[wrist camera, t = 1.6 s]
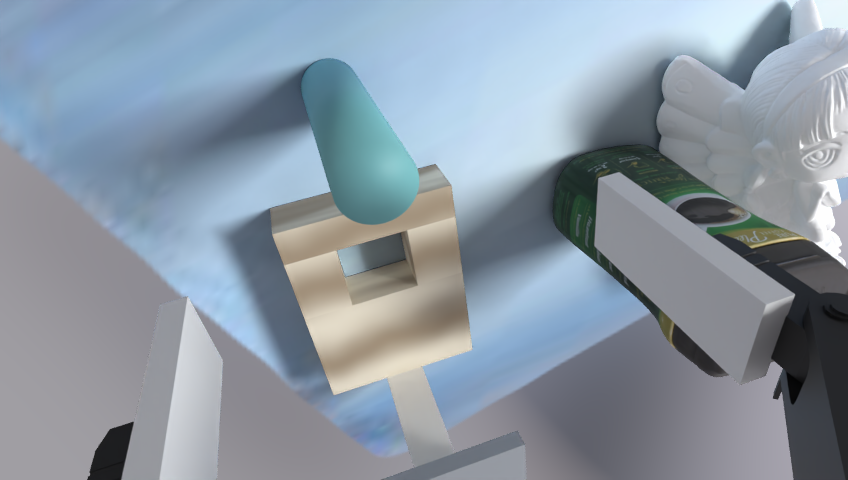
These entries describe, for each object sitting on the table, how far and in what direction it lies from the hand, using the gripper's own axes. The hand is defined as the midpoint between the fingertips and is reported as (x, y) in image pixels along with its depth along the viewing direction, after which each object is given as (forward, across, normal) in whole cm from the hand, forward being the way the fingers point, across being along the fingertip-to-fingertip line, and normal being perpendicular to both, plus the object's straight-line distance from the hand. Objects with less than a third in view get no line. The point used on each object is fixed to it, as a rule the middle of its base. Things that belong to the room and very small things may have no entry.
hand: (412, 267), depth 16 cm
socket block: (+20, 0, -15) cm, 25 cm away
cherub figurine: (+20, +31, -11) cm, 39 cm away
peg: (+20, 0, 0) cm, 20 cm away
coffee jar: (+20, +20, -13) cm, 31 cm away
